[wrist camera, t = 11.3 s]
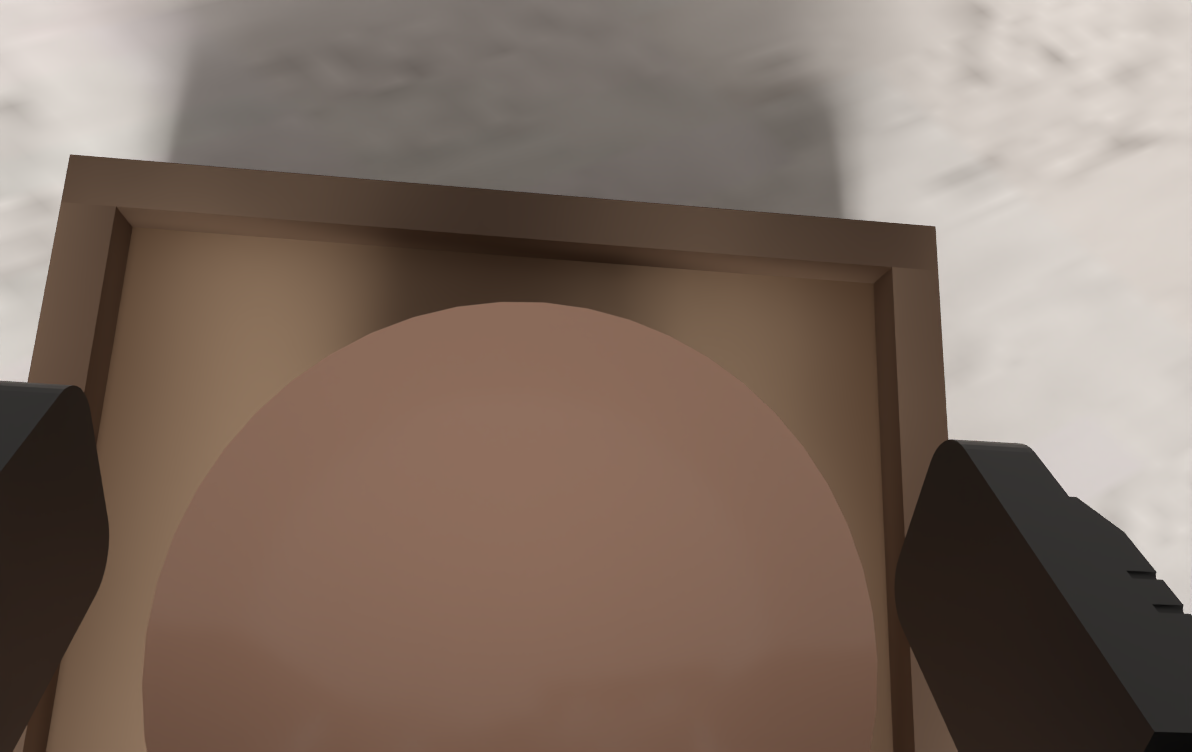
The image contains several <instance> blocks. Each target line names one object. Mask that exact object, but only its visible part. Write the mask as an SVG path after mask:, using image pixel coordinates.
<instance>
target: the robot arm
mask: <svg viewBox="0 0 1192 752" xmlns="http://www.w3.org/2000/svg"><path fill="white" fill-rule="evenodd" d="M108 549H109V522H108V515H107V509H106V503H105V497H104V491H103V484H102V478H101V472H100V466H99V460H98V454H97V447H96V441H95V435H94V429H93V423H92V417H91V411H90V406H89V403H88V400H87V397H86V395H85V393H84V392H83V391H82V389H81V388H79V387H78V386H74V385H60V384H43V383H26V382H10V381H0V752H13V750H14V748H15V747H16V745H17V743H18V741H19V739H20V737H21V735H22V733H23V732H24V730H25V728H26V726H27V724H28V722H29V720H30V718H31V716H32V715H33V713H34V711H35V709H36V707H37V705H38V703H39V701H40V699H41V698H42V696H43V694H44V692H45V690H46V688H47V686H48V684H49V682H50V681H51V679H52V677H53V675H54V673H55V671H56V669H57V667H58V666H59V664H60V662H61V660H62V658H63V656H64V654H65V652H66V650H67V649H68V647H69V645H70V643H71V641H72V639H73V637H74V635H75V633H76V632H77V630H78V628H79V626H80V624H81V622H82V620H83V618H84V616H85V615H86V613H87V611H88V609H89V607H90V605H91V603H92V601H93V600H94V598H95V596H96V594H97V592H98V589H99V587H100V585H101V582H102V579H103V575H104V572H105V568H106V563H107V557H108ZM894 590H895V603H896V610H897V614H898V618H899V621H900V624H901V627H902V629H903V631H904V633H905V636H906V638H907V640H908V642H909V644H910V647H911V649H912V651H913V653H914V656H915V658H916V660H917V662H918V664H919V667H920V669H921V671H922V673H923V675H924V678H925V680H926V682H927V684H928V686H929V689H930V691H931V693H932V695H933V697H934V700H935V702H936V704H937V706H938V708H939V711H940V713H941V715H942V717H943V719H944V722H945V724H946V726H947V728H948V730H949V733H950V735H951V737H952V739H953V742H954V744H955V746H956V748H957V750H958V752H1192V615H1191V614H1184V613H1183V604H1182V603H1181V602H1180V601H1179V599H1178V598H1177V597H1176V596H1175V594H1174V593H1173V592H1172V591H1171V589H1170V588H1169V587H1168V586H1167V584H1166V583H1165V582H1164V581H1163V580H1157V579H1156V571H1155V570H1154V568H1153V567H1152V566H1151V565H1150V564H1149V562H1148V561H1147V560H1146V559H1145V557H1144V556H1143V555H1142V554H1141V552H1140V551H1139V550H1138V549H1137V548H1136V546H1135V545H1134V544H1133V543H1132V541H1131V540H1130V539H1129V538H1128V536H1127V535H1126V534H1125V533H1124V532H1123V531H1122V530H1120V529H1119V528H1118V527H1116V526H1115V525H1114V524H1112V523H1111V522H1110V521H1108V520H1107V519H1105V518H1104V517H1103V516H1101V515H1100V514H1099V513H1097V512H1096V511H1095V510H1093V509H1092V508H1090V507H1089V506H1088V505H1086V504H1085V503H1084V502H1082V501H1081V500H1080V499H1078V498H1077V497H1069V496H1068V495H1067V493H1066V492H1065V491H1064V490H1063V488H1062V487H1061V486H1060V484H1059V483H1058V482H1057V481H1056V479H1055V478H1054V477H1053V475H1052V474H1051V473H1050V472H1049V470H1048V469H1047V468H1046V466H1045V465H1044V464H1043V462H1042V461H1041V460H1040V459H1039V457H1038V456H1037V455H1036V453H1035V452H1034V451H1033V450H1032V449H1031V448H1030V447H1028V446H1027V445H1024V444H1018V443H1001V442H985V441H968V440H946V441H944V442H943V443H941V444H940V445H939V447H938V448H937V449H936V451H935V453H934V454H933V457H932V459H931V462H930V465H929V468H928V471H927V474H926V477H925V480H924V483H923V486H922V489H921V492H920V495H919V498H918V501H917V504H916V507H915V510H914V513H913V516H912V519H911V522H910V525H909V528H908V531H907V534H906V537H905V540H904V543H903V546H902V549H901V552H900V555H899V558H898V562H897V566H896V572H895V586H894Z"/></svg>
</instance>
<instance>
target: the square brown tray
mask: <svg viewBox="0 0 1192 752" xmlns="http://www.w3.org/2000/svg"><path fill="white" fill-rule="evenodd" d="M496 302H543V303H552V304H559V305H566V306H573V307H581V308H588V309H592V310H595V311H599V312H603V313H606V314H610V315H614V316H618V317H621V318H625V319H629V320H632V321H634V322H637V323H639V324H642V325H644V326H646V327H649V328H651V329H654V330H656V331H659V332H661V333H664V334H666V335H669V336H671V337H673V338H674V339H676V340H678V341H680V342H682V343H683V344H685V345H687V346H689V347H691V348H692V349H694V350H696V351H698V352H700V353H701V354H703V355H705V356H707V357H708V358H710V359H711V360H712V361H714V362H715V363H717V364H718V365H719V366H721V367H722V368H723V369H725V370H726V371H728V372H729V373H730V374H732V375H733V376H734V377H736V378H737V379H739V380H740V381H741V382H743V383H744V384H745V385H746V386H747V387H748V388H749V389H750V390H751V391H752V392H753V393H754V394H756V395H757V396H758V397H759V398H760V399H761V400H762V401H763V402H764V403H765V404H766V405H767V406H768V407H769V408H770V409H772V410H773V411H774V412H775V413H776V415H777V416H778V417H779V418H780V419H781V420H782V422H783V423H784V424H785V425H786V426H787V428H788V429H789V430H790V431H791V432H792V434H793V435H794V436H795V437H796V438H797V440H798V441H799V442H800V443H801V444H802V446H803V447H804V448H805V450H806V451H807V453H808V454H809V456H810V458H811V459H812V461H813V462H814V464H815V465H816V467H817V468H818V470H819V471H820V473H821V474H822V476H823V478H824V479H825V481H826V482H827V484H828V486H829V488H830V490H831V492H832V494H833V496H834V498H835V500H836V502H837V504H838V506H839V508H840V510H841V512H842V514H843V516H844V518H845V520H846V522H847V524H848V527H849V530H850V533H851V535H852V538H853V541H854V544H855V547H856V550H857V553H858V555H859V558H860V561H861V564H862V567H863V571H864V575H865V580H866V584H867V589H868V593H869V598H870V603H871V607H872V612H873V619H874V630H875V640H876V650H877V661H878V662H877V702H876V715H875V721H874V728H873V735H872V742H871V748H870V752H958V750H957V748H956V746H955V744H954V742H953V739H952V737H951V735H950V733H949V730H948V728H947V726H946V724H945V722H944V719H943V717H942V715H941V713H940V711H939V708H938V706H937V704H936V702H935V700H934V697H933V695H932V693H931V691H930V689H929V686H928V684H927V682H926V680H925V678H924V675H923V673H922V671H921V669H920V667H919V664H918V662H917V660H916V658H915V656H914V653H913V651H912V649H911V647H910V644H909V642H908V640H907V638H906V636H905V633H904V631H903V629H902V627H901V624H900V621H899V618H898V614H897V610H896V603H895V590H894V586H895V572H896V566H897V562H898V558H899V555H900V552H901V549H902V546H903V543H904V540H905V537H906V534H907V531H908V528H909V525H910V522H911V519H912V516H913V513H914V510H915V507H916V504H917V501H918V498H919V495H920V492H921V489H922V486H923V483H924V480H925V477H926V474H927V471H928V468H929V465H930V462H931V459H932V457H933V454H934V453H935V451H936V449H937V448H938V447H939V445H940V444H941V443H943V442H944V441H946V440H948V429H947V413H946V396H945V379H944V362H943V346H942V329H941V312H940V296H939V279H938V262H937V246H936V229H935V226H923V225H911V224H899V223H887V222H875V221H863V220H851V219H839V218H827V217H815V216H803V215H791V214H779V213H767V212H755V211H743V210H731V209H719V208H707V207H695V206H683V205H671V204H659V203H647V202H635V201H623V200H611V199H599V198H587V197H575V196H562V195H550V194H538V193H526V192H514V191H502V190H490V189H478V188H466V187H454V186H442V185H430V184H418V183H406V182H394V181H382V180H370V179H358V178H346V177H334V176H322V175H310V174H298V173H286V172H274V171H262V170H250V169H238V168H226V167H214V166H202V165H190V164H178V163H166V162H154V161H142V160H130V159H118V158H106V157H93V156H81V155H70V158H69V163H68V168H67V174H66V179H65V184H64V190H63V195H62V201H61V206H60V211H59V217H58V222H57V227H56V233H55V238H54V243H53V249H52V254H51V259H50V265H49V270H48V276H47V281H46V286H45V292H44V297H43V302H42V308H41V313H40V318H39V324H38V329H37V334H36V340H35V345H34V351H33V356H32V361H31V367H30V372H29V377H28V383H43V384H60V385H74V386H78V387H79V388H81V389H82V391H83V392H84V393H85V395H86V397H87V400H88V403H89V406H90V411H91V417H92V423H93V429H94V435H95V441H96V447H97V454H98V460H99V466H100V472H101V478H102V484H103V491H104V497H105V503H106V509H107V515H108V522H109V549H108V557H107V563H106V568H105V572H104V575H103V579H102V582H101V585H100V587H99V589H98V592H97V594H96V596H95V598H94V600H93V601H92V603H91V605H90V607H89V609H88V611H87V613H86V615H85V616H84V618H83V620H82V622H81V624H80V626H79V628H78V630H77V632H76V633H75V635H74V637H73V639H72V641H71V643H70V645H69V647H68V649H67V650H66V652H65V654H64V656H63V658H62V660H61V662H60V664H59V666H58V667H57V669H56V671H55V673H54V675H53V677H52V679H51V681H50V682H49V684H48V686H47V688H46V690H45V692H44V694H43V696H42V698H41V699H40V701H39V703H38V705H37V707H36V709H35V711H34V713H33V715H32V716H31V718H30V720H29V722H28V724H27V726H26V728H25V730H24V732H23V733H22V735H21V737H20V739H19V741H18V743H17V745H16V747H15V748H14V750H13V752H147V748H146V743H145V738H144V718H143V697H142V677H143V666H144V654H145V642H146V632H147V627H148V622H149V618H150V613H151V609H152V604H153V599H154V595H155V590H156V586H157V582H158V579H159V576H160V573H161V570H162V567H163V565H164V562H165V559H166V556H167V553H168V551H169V548H170V545H171V542H172V539H173V537H174V534H175V532H176V530H177V528H178V526H179V524H180V522H181V520H182V518H183V516H184V514H185V512H186V510H187V508H188V506H189V504H190V502H191V500H192V498H193V496H194V494H195V492H196V490H197V489H198V487H199V486H200V484H201V483H202V481H203V480H204V478H205V477H206V475H207V474H208V473H209V471H210V470H211V468H212V467H213V465H214V464H215V462H216V461H217V459H218V458H219V456H220V455H221V453H222V452H223V450H224V449H225V448H226V447H227V445H228V444H229V443H230V442H231V441H232V440H233V439H234V437H235V436H236V435H237V434H238V433H239V432H240V431H241V429H242V428H243V427H244V426H245V425H246V424H247V423H248V421H249V420H250V419H251V418H252V417H253V416H254V415H255V413H256V412H257V411H259V410H260V409H261V408H262V407H263V406H264V405H265V404H266V403H267V402H269V401H270V400H271V399H272V398H273V397H274V396H275V395H276V394H278V393H279V392H280V391H281V390H282V389H283V388H284V387H285V386H287V385H288V384H289V383H290V382H291V381H292V380H294V379H295V378H297V377H298V376H300V375H301V374H302V373H304V372H305V371H307V370H308V369H310V368H311V367H313V366H314V365H315V364H317V363H318V362H320V361H321V360H323V359H324V358H326V357H327V356H328V355H330V354H332V353H334V352H336V351H337V350H339V349H341V348H343V347H345V346H347V345H349V344H351V343H353V342H355V341H357V340H359V339H360V338H362V337H364V336H366V335H368V334H370V333H372V332H375V331H378V330H380V329H383V328H386V327H388V326H391V325H394V324H396V323H399V322H402V321H404V320H407V319H410V318H412V317H416V316H420V315H424V314H429V313H433V312H437V311H441V310H445V309H450V308H454V307H459V306H468V305H477V304H487V303H496Z"/></svg>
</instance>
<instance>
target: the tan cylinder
mask: <svg viewBox="0 0 1192 752" xmlns="http://www.w3.org/2000/svg"><path fill="white" fill-rule="evenodd" d="M877 662H878V661H877V650H876V640H875V630H874V619H873V612H872V607H871V603H870V598H869V593H868V589H867V584H866V580H865V575H864V571H863V567H862V564H861V561H860V558H859V555H858V553H857V550H856V547H855V544H854V541H853V538H852V535H851V533H850V530H849V527H848V524H847V522H846V520H845V518H844V516H843V514H842V512H841V510H840V508H839V506H838V504H837V502H836V500H835V498H834V496H833V494H832V492H831V490H830V488H829V486H828V484H827V482H826V481H825V479H824V478H823V476H822V474H821V473H820V471H819V470H818V468H817V467H816V465H815V464H814V462H813V461H812V459H811V458H810V456H809V454H808V453H807V451H806V450H805V448H804V447H803V446H802V444H801V443H800V442H799V441H798V440H797V438H796V437H795V436H794V435H793V434H792V432H791V431H790V430H789V429H788V428H787V426H786V425H785V424H784V423H783V422H782V420H781V419H780V418H779V417H778V416H777V415H776V413H775V412H774V411H773V410H772V409H770V408H769V407H768V406H767V405H766V404H765V403H764V402H763V401H762V400H761V399H760V398H759V397H758V396H757V395H756V394H754V393H753V392H752V391H751V390H750V389H749V388H748V387H747V386H746V385H745V384H744V383H743V382H741V381H740V380H739V379H737V378H736V377H734V376H733V375H732V374H730V373H729V372H728V371H726V370H725V369H723V368H722V367H721V366H719V365H718V364H717V363H715V362H714V361H712V360H711V359H710V358H708V357H707V356H705V355H703V354H701V353H700V352H698V351H696V350H694V349H692V348H691V347H689V346H687V345H685V344H683V343H682V342H680V341H678V340H676V339H674V338H673V337H671V336H669V335H666V334H664V333H661V332H659V331H656V330H654V329H651V328H649V327H646V326H644V325H642V324H639V323H637V322H634V321H632V320H629V319H625V318H621V317H618V316H614V315H610V314H606V313H603V312H599V311H595V310H592V309H588V308H581V307H573V306H566V305H559V304H552V303H543V302H496V303H487V304H477V305H468V306H459V307H454V308H450V309H445V310H441V311H437V312H433V313H429V314H424V315H420V316H416V317H412V318H410V319H407V320H404V321H402V322H399V323H396V324H394V325H391V326H388V327H386V328H383V329H380V330H378V331H375V332H372V333H370V334H368V335H366V336H364V337H362V338H360V339H359V340H357V341H355V342H353V343H351V344H349V345H347V346H345V347H343V348H341V349H339V350H337V351H336V352H334V353H332V354H330V355H328V356H327V357H326V358H324V359H323V360H321V361H320V362H318V363H317V364H315V365H314V366H313V367H311V368H310V369H308V370H307V371H305V372H304V373H302V374H301V375H300V376H298V377H297V378H295V379H294V380H292V381H291V382H290V383H289V384H288V385H287V386H285V387H284V388H283V389H282V390H281V391H280V392H279V393H278V394H276V395H275V396H274V397H273V398H272V399H271V400H270V401H269V402H267V403H266V404H265V405H264V406H263V407H262V408H261V409H260V410H259V411H257V412H256V413H255V415H254V416H253V417H252V418H251V419H250V420H249V421H248V423H247V424H246V425H245V426H244V427H243V428H242V429H241V431H240V432H239V433H238V434H237V435H236V436H235V437H234V439H233V440H232V441H231V442H230V443H229V444H228V445H227V447H226V448H225V449H224V450H223V452H222V453H221V455H220V456H219V458H218V459H217V461H216V462H215V464H214V465H213V467H212V468H211V470H210V471H209V473H208V474H207V475H206V477H205V478H204V480H203V481H202V483H201V484H200V486H199V487H198V489H197V490H196V492H195V494H194V496H193V498H192V500H191V502H190V504H189V506H188V508H187V510H186V512H185V514H184V516H183V518H182V520H181V522H180V524H179V526H178V528H177V530H176V532H175V534H174V537H173V539H172V542H171V545H170V548H169V551H168V553H167V556H166V559H165V562H164V565H163V567H162V570H161V573H160V576H159V579H158V582H157V586H156V590H155V595H154V599H153V604H152V609H151V613H150V618H149V622H148V627H147V632H146V642H145V654H144V666H143V677H142V697H143V718H144V738H145V743H146V748H147V752H870V748H871V742H872V735H873V728H874V721H875V715H876V702H877Z"/></svg>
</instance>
